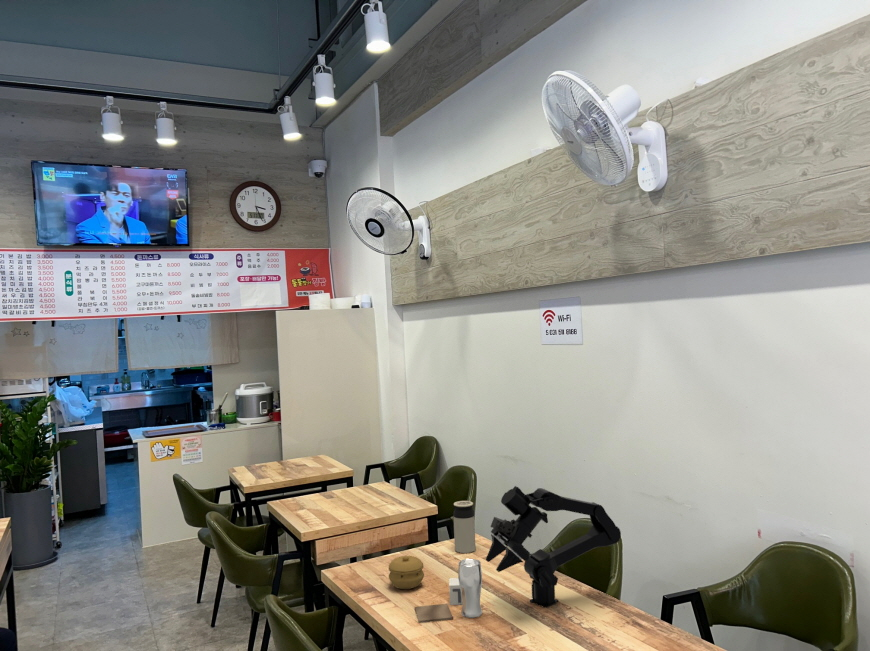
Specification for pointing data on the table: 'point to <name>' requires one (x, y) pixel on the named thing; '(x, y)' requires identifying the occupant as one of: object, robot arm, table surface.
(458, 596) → the letter block
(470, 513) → the travel mug
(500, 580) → the table surface
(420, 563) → the pot
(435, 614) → the coaster
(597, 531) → the robot arm
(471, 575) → the beer glass
